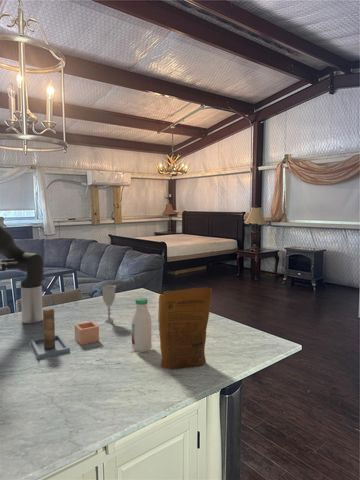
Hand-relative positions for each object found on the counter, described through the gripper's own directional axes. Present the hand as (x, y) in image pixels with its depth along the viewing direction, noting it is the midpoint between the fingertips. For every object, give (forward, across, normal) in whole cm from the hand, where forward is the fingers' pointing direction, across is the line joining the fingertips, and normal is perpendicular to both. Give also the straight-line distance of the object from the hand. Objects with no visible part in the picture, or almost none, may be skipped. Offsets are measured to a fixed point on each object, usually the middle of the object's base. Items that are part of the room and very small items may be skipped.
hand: (17, 263), depth 123 cm
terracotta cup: (+24, -6, +34) cm, 42 cm away
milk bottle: (+40, -24, +34) cm, 58 cm away
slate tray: (+10, -6, +34) cm, 36 cm away
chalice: (+40, +10, +34) cm, 54 cm away
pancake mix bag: (+46, -45, +34) cm, 73 cm away
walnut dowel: (+10, -6, +33) cm, 35 cm away
